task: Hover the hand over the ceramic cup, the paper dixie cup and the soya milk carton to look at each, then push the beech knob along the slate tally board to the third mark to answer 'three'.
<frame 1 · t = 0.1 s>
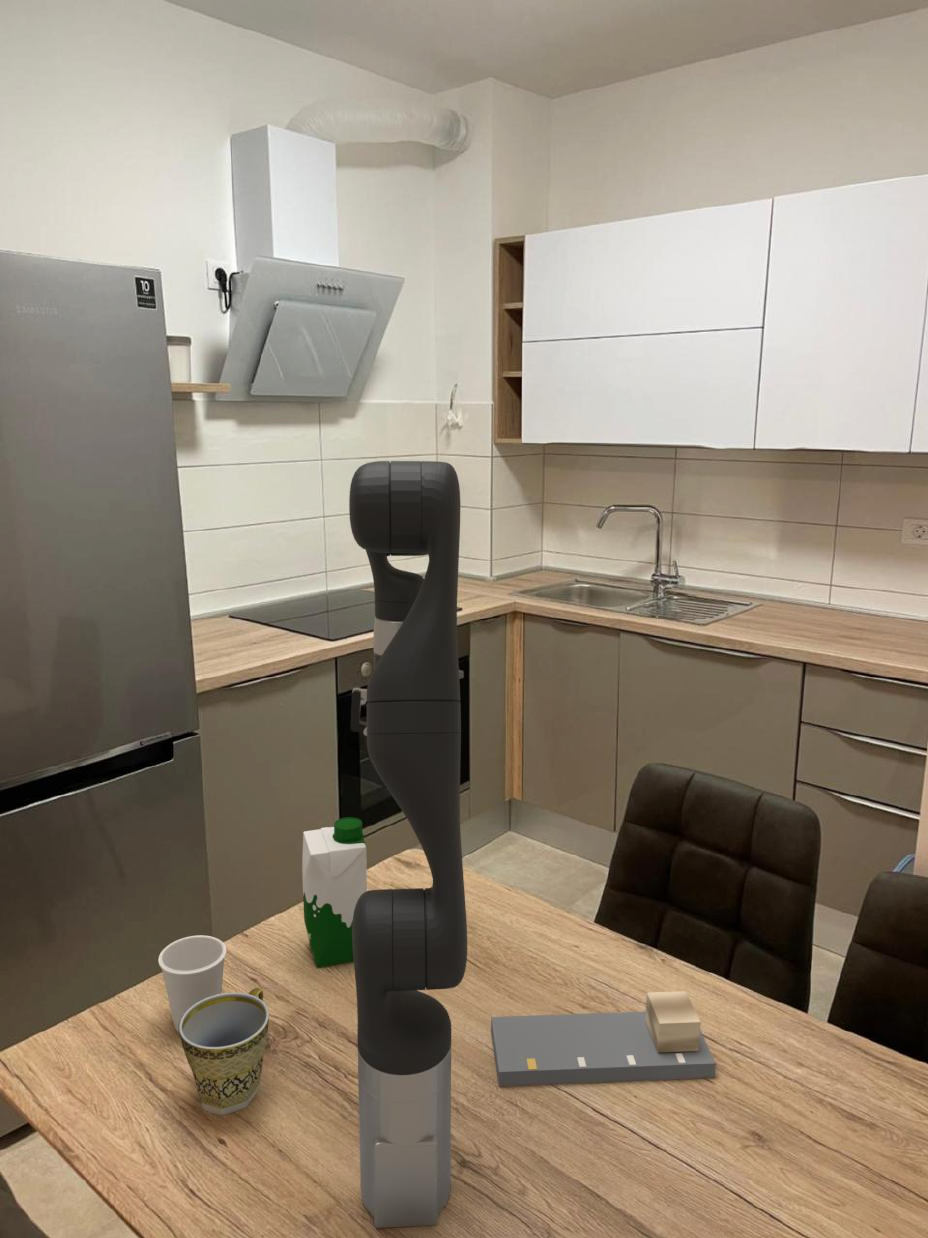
hand: (401, 758, 132), 29 cm above the table, tool pointing down, fingers open, 8 cm apart
soya milk: (336, 952, 136), on the table
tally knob: (672, 1021, 115), point 4 cm above the table, slide at 0.0 cm
tally board: (598, 1053, 115), on the table
ceramic cup: (235, 1087, 109), on the table
dixie cup: (197, 1022, 120), on the table
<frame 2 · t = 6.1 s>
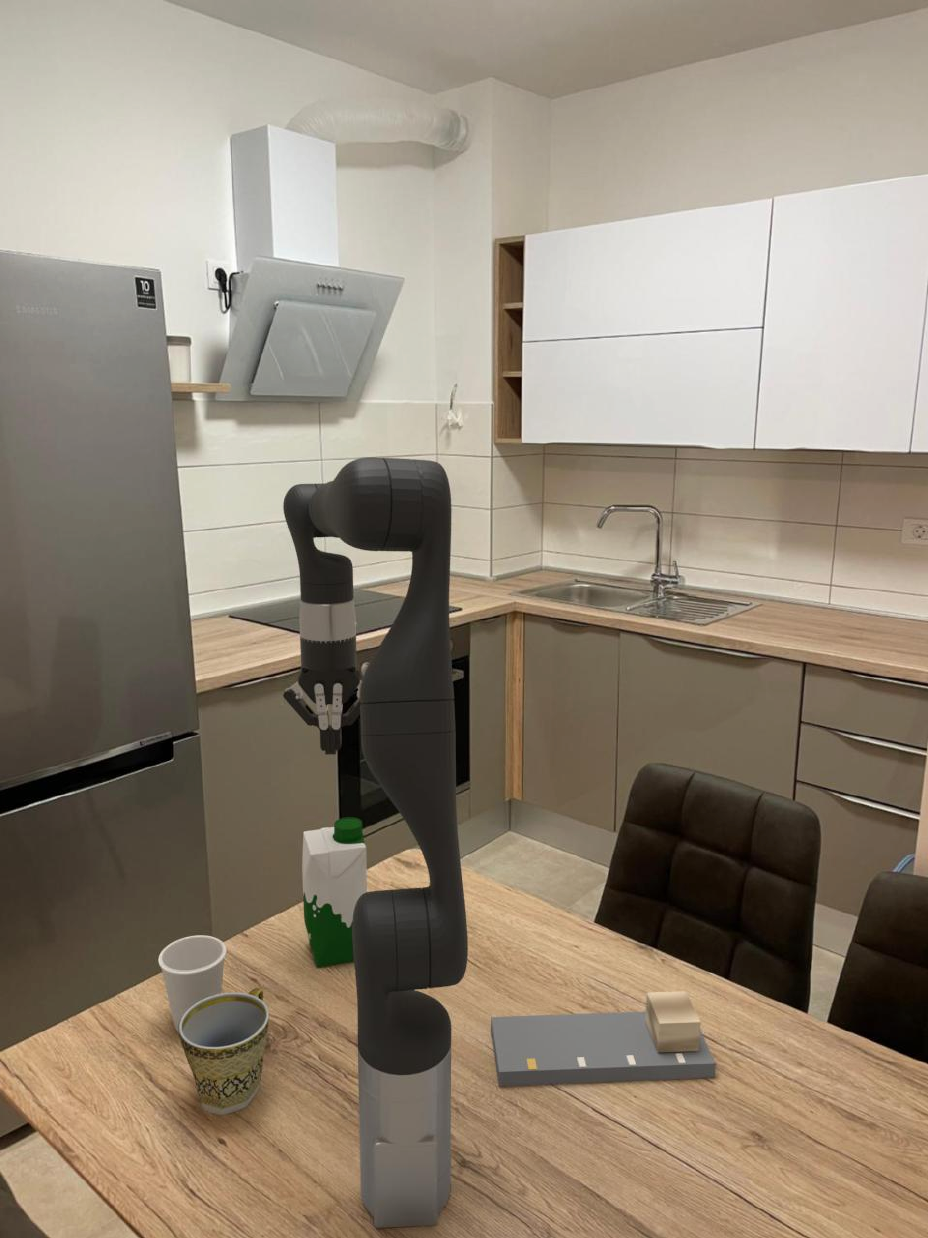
hand: (331, 752, 129), 31 cm above the table, tool pointing down, fingers closed
nothing on the table moved.
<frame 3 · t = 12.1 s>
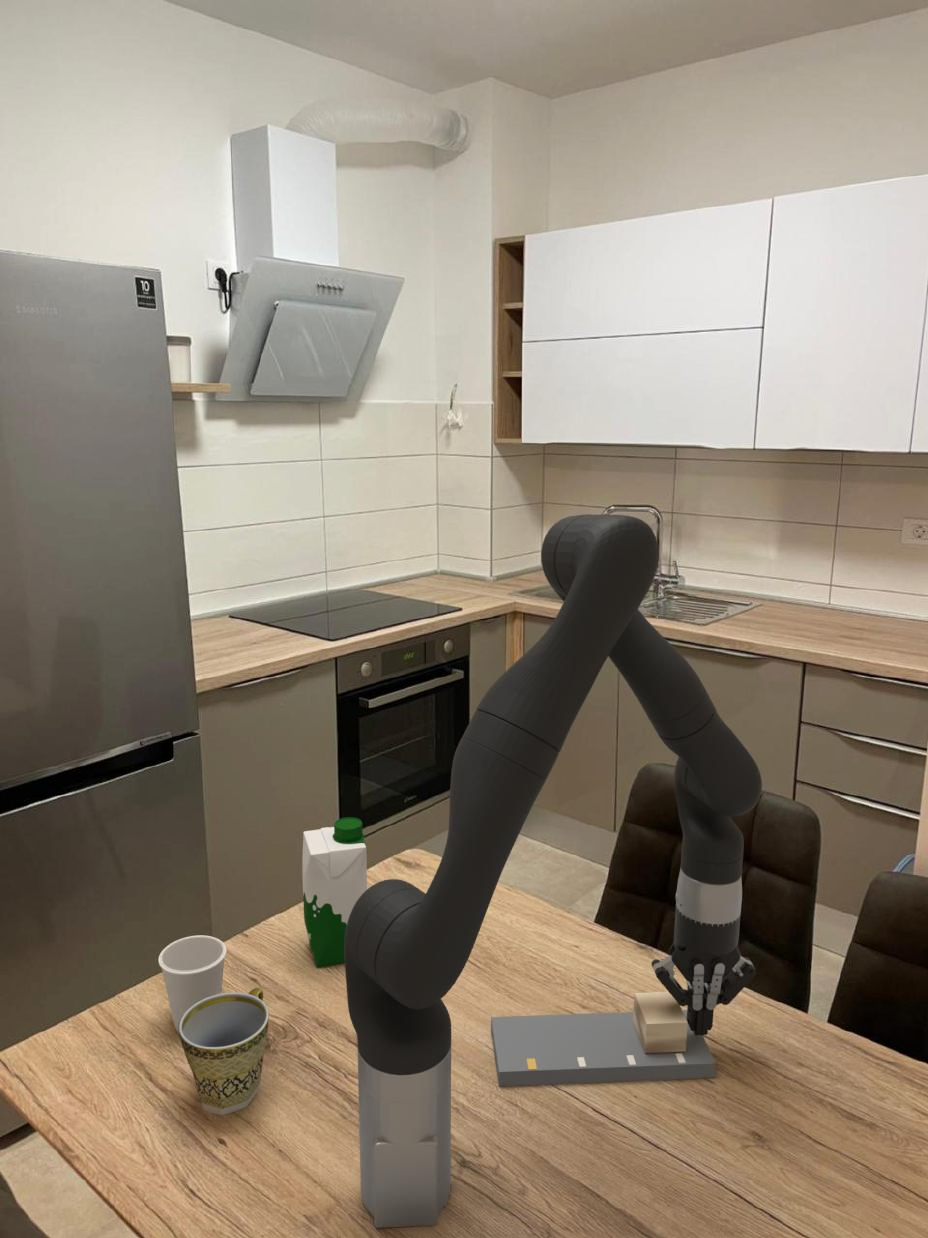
hand: (699, 1031, 115), 3 cm above the table, tool pointing down, fingers closed
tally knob: (659, 1021, 114), point 4 cm above the table, slide at 1.6 cm, touching gripper
everything else where it was.
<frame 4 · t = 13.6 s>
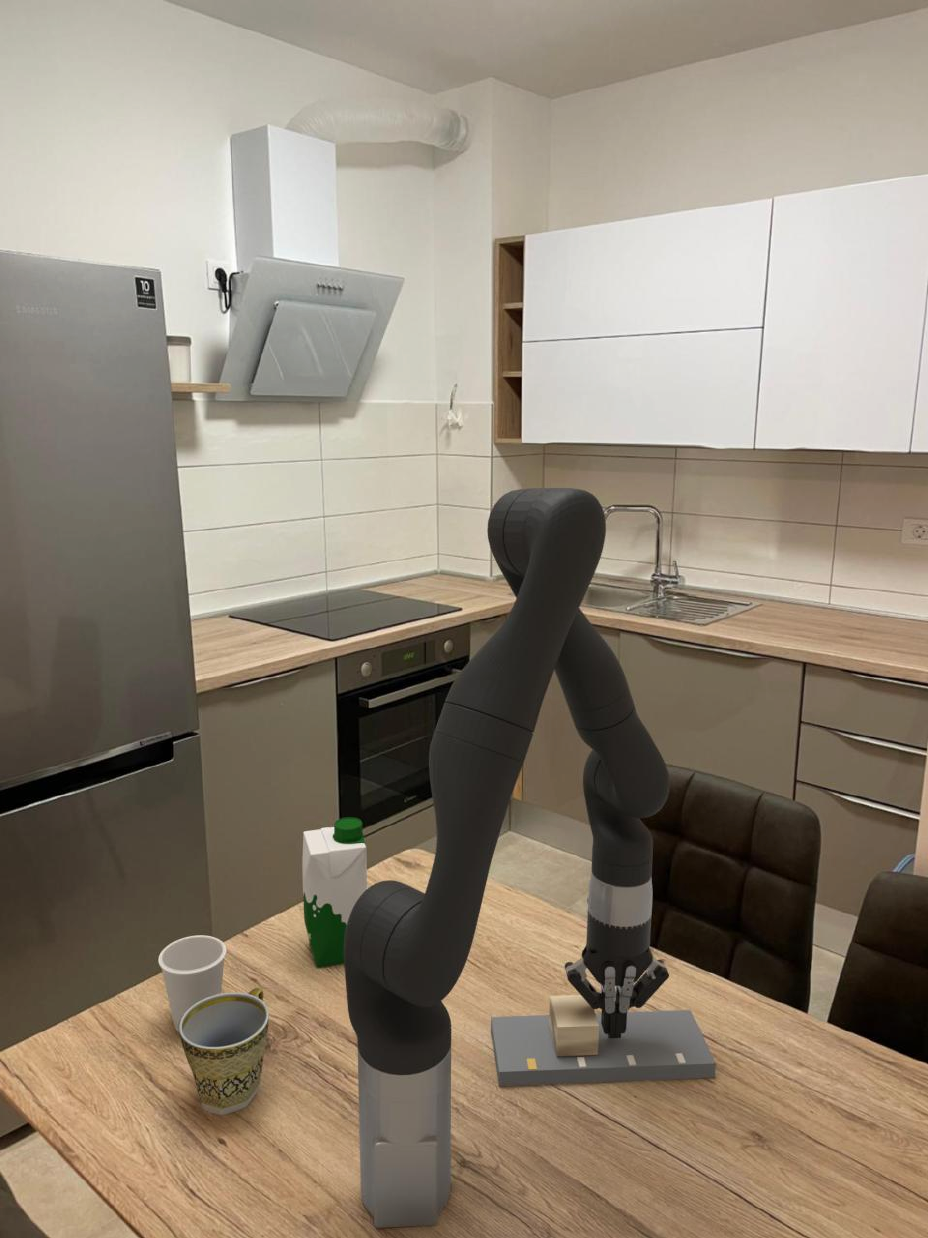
hand: (613, 1034, 114), 3 cm above the table, tool pointing down, fingers closed
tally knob: (573, 1025, 114), point 4 cm above the table, slide at 12.4 cm, touching gripper
everything else where it was.
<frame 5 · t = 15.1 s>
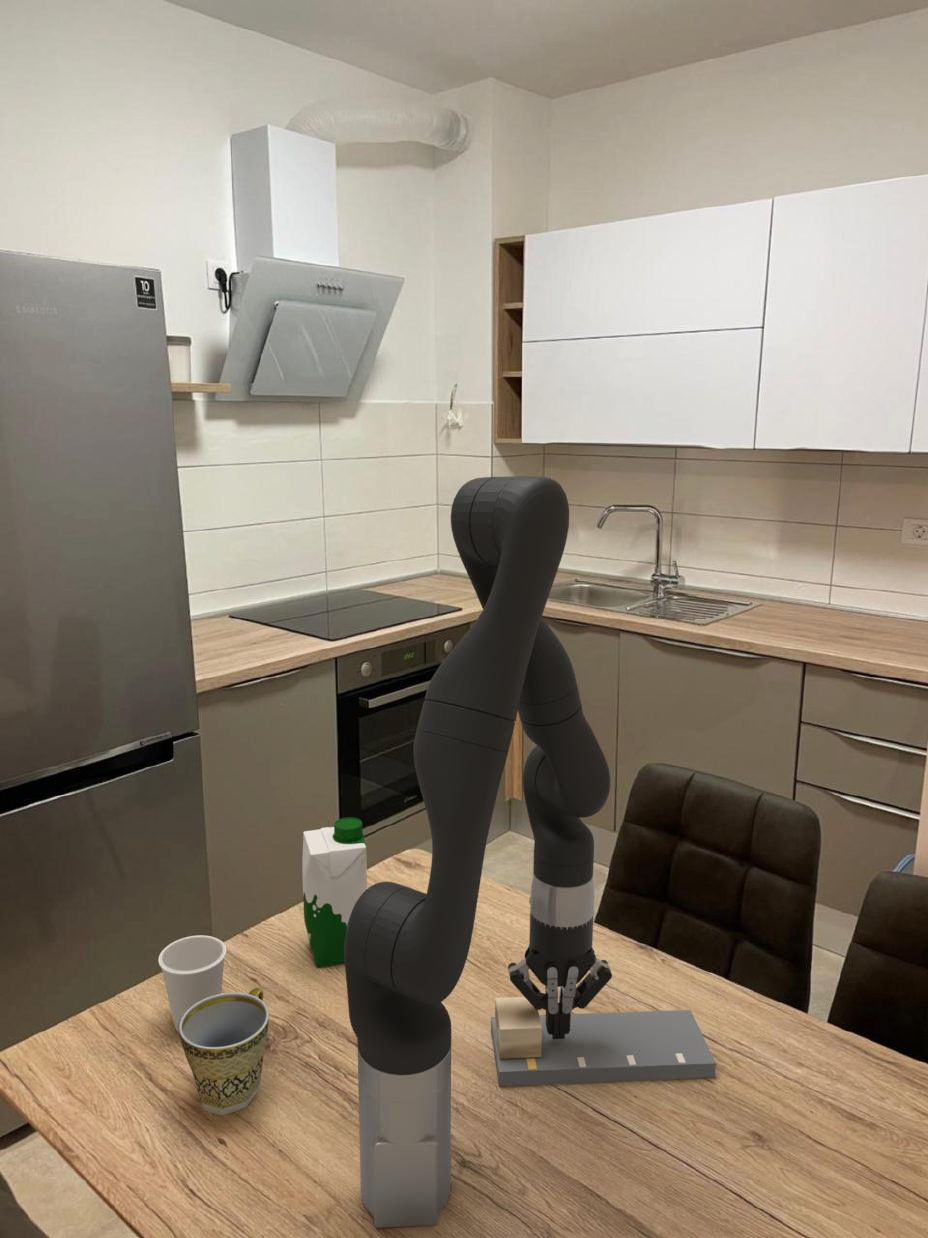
hand: (557, 1034, 114), 3 cm above the table, tool pointing down, fingers closed
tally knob: (517, 1027, 113), point 4 cm above the table, slide at 19.2 cm, touching gripper
everything else where it was.
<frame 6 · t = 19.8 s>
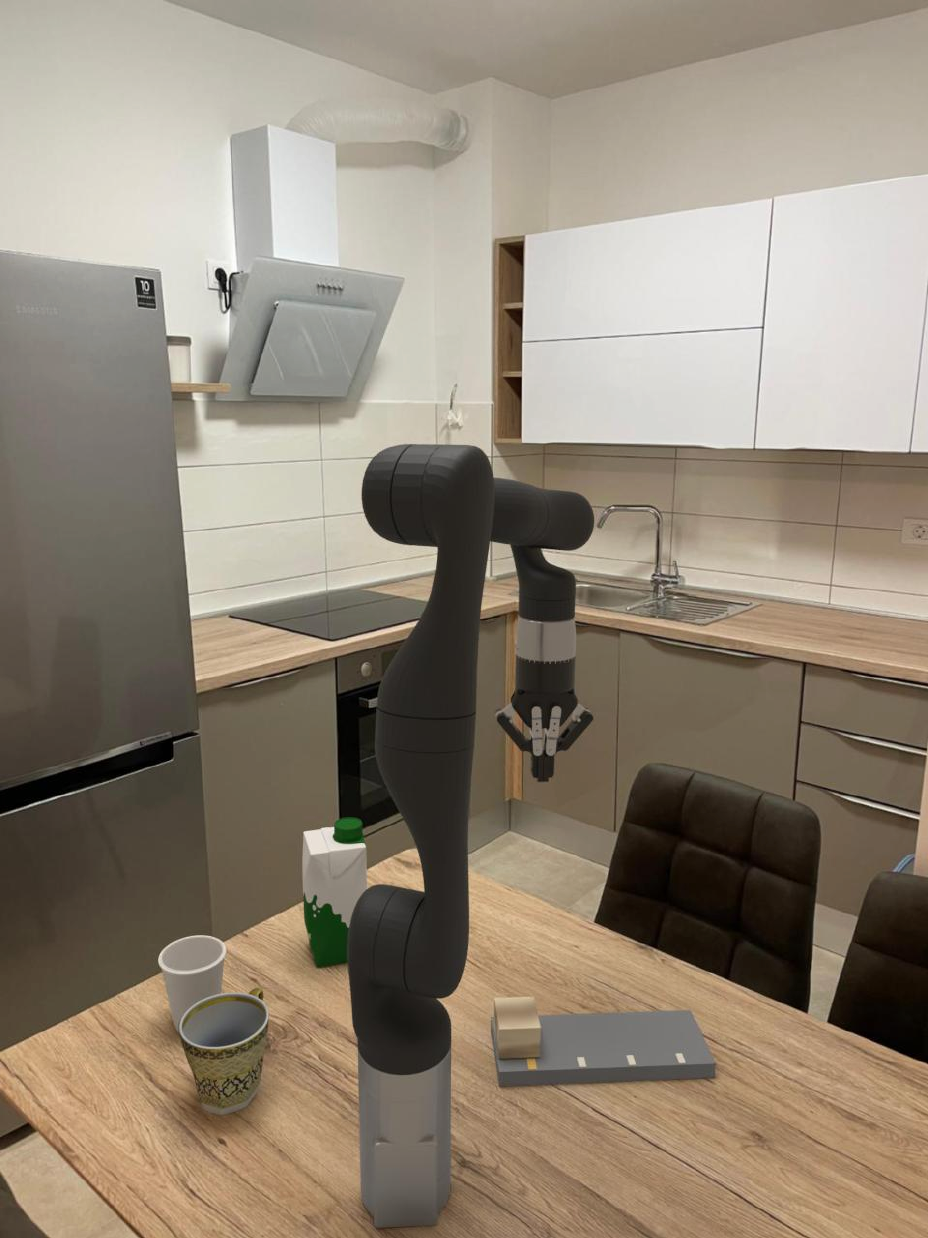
hand: (542, 779, 120), 31 cm above the table, tool pointing down, fingers closed
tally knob: (516, 1027, 113), point 4 cm above the table, slide at 19.4 cm
everything else where it was.
at the end: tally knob slide at 19.4 cm; soya milk moved 0.2 cm from its start; dixie cup moved 0.2 cm from its start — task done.
